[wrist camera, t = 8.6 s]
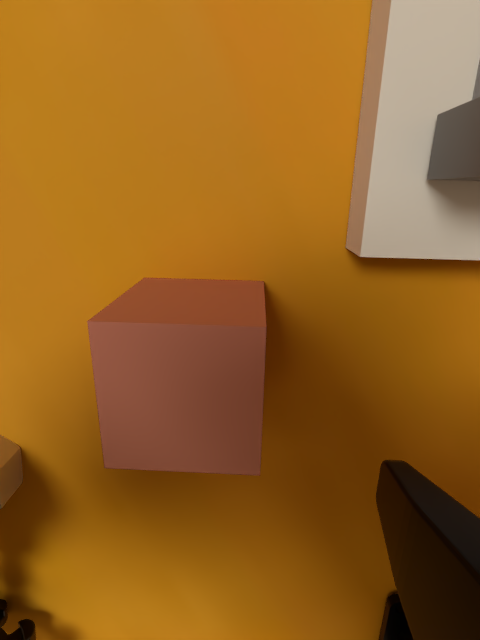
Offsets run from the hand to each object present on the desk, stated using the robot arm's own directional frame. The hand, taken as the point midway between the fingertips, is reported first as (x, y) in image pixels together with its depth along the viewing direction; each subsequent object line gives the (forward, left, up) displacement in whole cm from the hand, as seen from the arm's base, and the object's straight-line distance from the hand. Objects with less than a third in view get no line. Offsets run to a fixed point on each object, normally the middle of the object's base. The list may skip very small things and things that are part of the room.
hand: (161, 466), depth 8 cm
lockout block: (0, 0, -7) cm, 7 cm away
